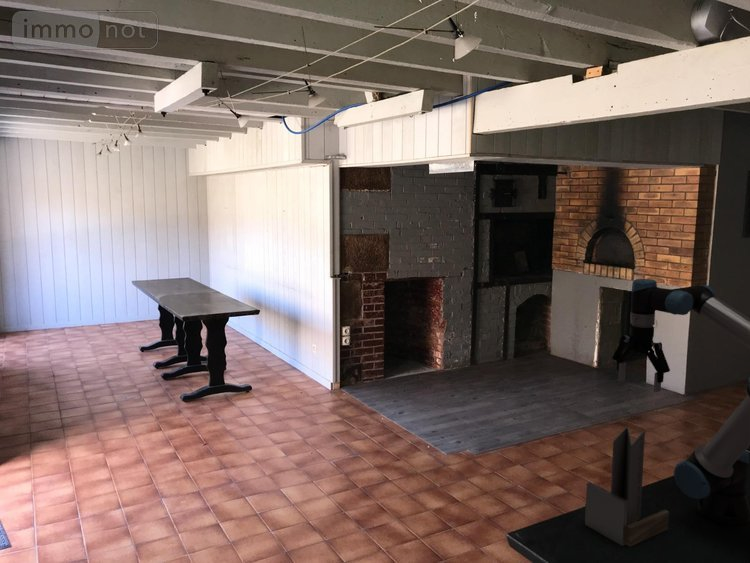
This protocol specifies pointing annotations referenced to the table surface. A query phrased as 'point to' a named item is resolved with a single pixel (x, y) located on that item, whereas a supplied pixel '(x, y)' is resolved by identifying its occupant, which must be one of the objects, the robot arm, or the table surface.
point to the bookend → (606, 513)
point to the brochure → (628, 472)
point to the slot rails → (646, 527)
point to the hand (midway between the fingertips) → (638, 386)
